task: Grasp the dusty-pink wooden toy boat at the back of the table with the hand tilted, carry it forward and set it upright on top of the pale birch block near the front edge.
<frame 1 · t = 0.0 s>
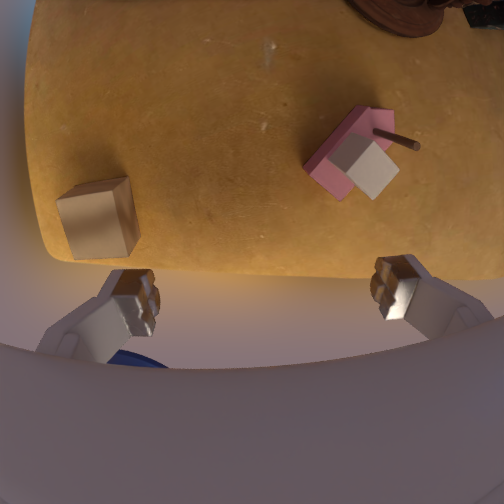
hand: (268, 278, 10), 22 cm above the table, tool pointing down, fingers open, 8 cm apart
ceramic cat: (491, 19, 15), on the table
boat: (344, 148, 29), on the table
birch block: (107, 210, 31), on the table
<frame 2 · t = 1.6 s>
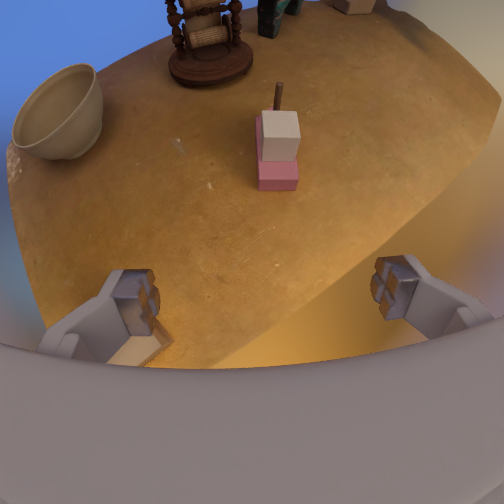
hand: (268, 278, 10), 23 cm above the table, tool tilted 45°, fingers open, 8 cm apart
ceramic cat: (279, 23, 45), on the table
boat: (274, 158, 36), on the table
birch block: (131, 334, 31), on the table
planter bowl: (80, 138, 37), on the table
decorative block: (352, 10, 48), on the table
scroll: (211, 66, 40), on the table
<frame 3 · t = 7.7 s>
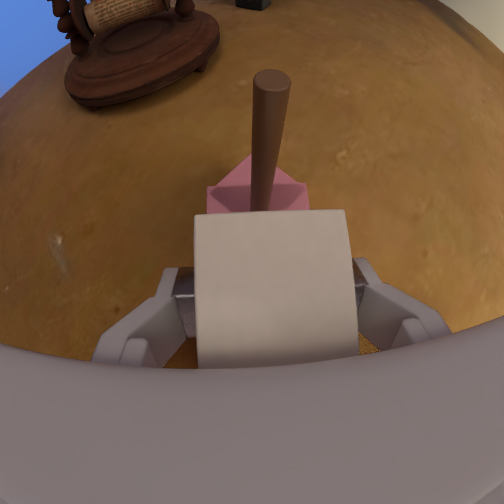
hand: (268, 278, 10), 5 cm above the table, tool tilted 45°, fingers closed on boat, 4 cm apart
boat: (260, 295, 15), on the table, touching gripper
scroll: (143, 63, 20), on the table
when the fingers open (10 cm above the table, at t = 17.5 s): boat stays where it is, resting on birch block.
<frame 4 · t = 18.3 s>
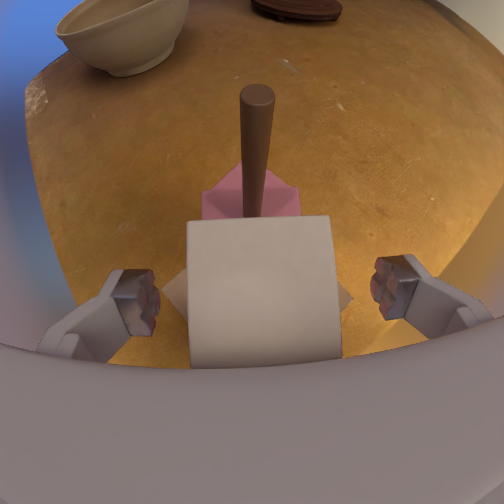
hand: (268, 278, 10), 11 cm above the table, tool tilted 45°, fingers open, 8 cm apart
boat: (254, 295, 15), point 5 cm above the table, touching birch block
birch block: (255, 301, 20), on the table
planter bowl: (139, 58, 27), on the table
scroll: (295, 10, 31), on the table
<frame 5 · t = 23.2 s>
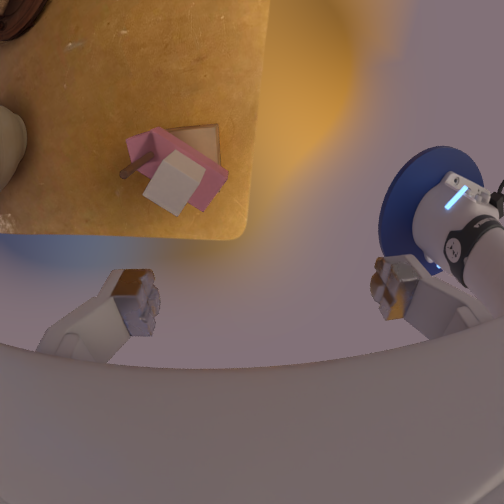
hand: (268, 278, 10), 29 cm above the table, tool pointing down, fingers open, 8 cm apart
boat: (182, 164, 31), point 5 cm above the table, touching birch block
birch block: (190, 154, 35), on the table
planter bowl: (12, 139, 29), on the table
scroll: (27, 4, 16), on the table
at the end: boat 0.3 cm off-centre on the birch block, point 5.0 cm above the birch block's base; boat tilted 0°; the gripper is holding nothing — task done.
